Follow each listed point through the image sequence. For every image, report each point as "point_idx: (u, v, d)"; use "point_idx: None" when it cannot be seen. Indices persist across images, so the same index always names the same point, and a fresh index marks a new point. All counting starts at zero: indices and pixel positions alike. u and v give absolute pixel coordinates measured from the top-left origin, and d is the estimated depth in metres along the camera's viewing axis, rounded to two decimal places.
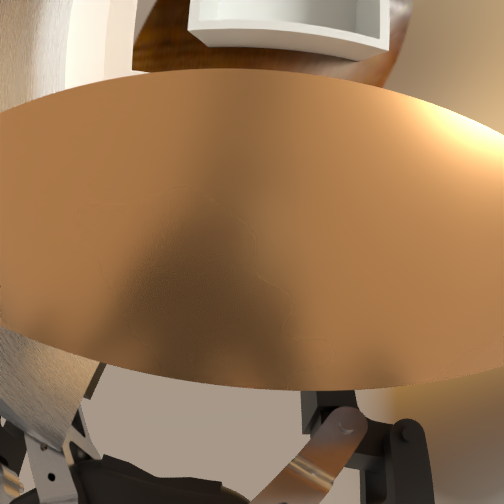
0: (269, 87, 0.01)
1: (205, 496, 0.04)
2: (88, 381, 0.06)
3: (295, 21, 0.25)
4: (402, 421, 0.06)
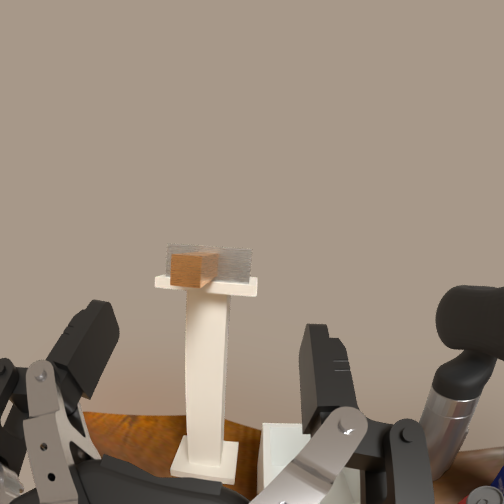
0: (212, 254, 0.29)
1: (205, 496, 0.04)
2: (167, 262, 0.33)
3: None
4: (402, 421, 0.06)
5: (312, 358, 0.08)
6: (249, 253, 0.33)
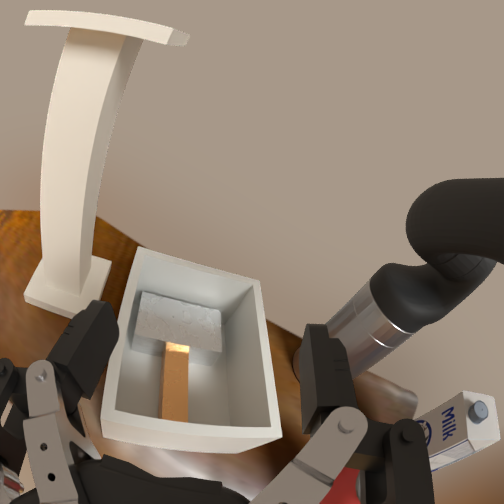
0: (187, 382, 0.26)
1: (205, 496, 0.04)
2: (133, 343, 0.28)
3: (146, 374, 0.28)
4: (402, 421, 0.06)
5: (312, 358, 0.08)
6: (219, 354, 0.31)
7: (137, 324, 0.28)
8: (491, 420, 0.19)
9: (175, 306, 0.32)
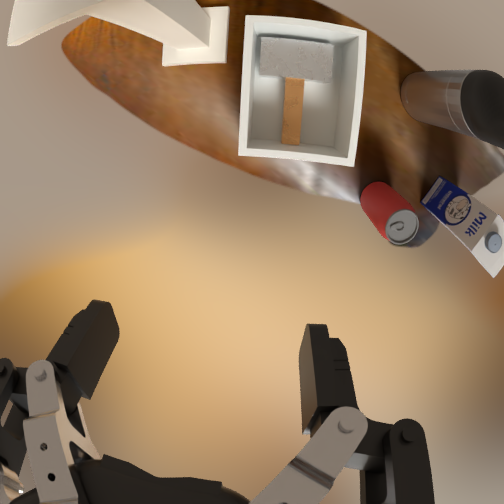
0: (302, 105, 0.35)
1: (205, 496, 0.04)
2: (260, 76, 0.35)
3: (273, 94, 0.38)
4: (402, 421, 0.06)
5: (312, 358, 0.08)
6: (329, 82, 0.33)
7: (260, 66, 0.32)
8: (499, 257, 0.29)
9: (291, 45, 0.30)
